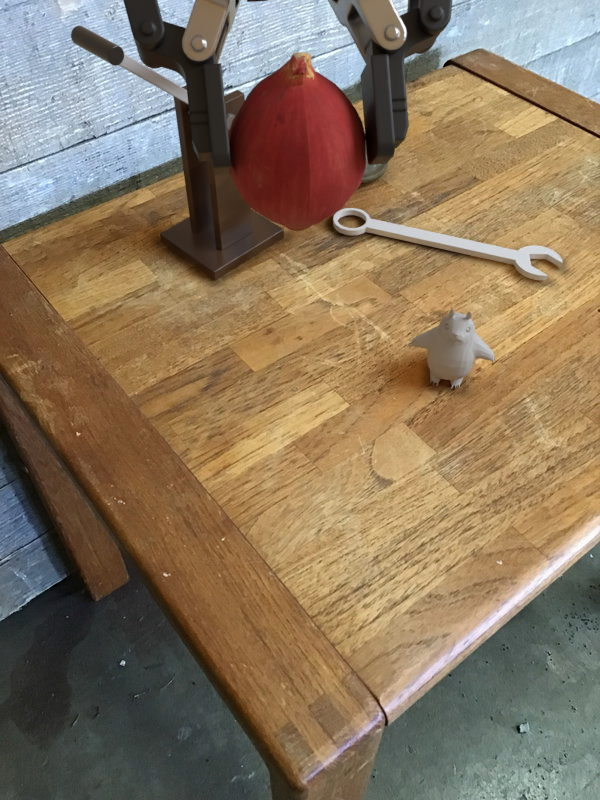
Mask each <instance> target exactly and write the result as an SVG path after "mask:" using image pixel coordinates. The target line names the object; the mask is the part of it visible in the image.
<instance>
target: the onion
mask: <svg viewBox="0 0 600 800" xmlns="http://www.w3.org/2000/svg"><path fill="white" fill-rule="evenodd" d="M228 138H229V148H230V160H231V177H232V180H233V182H234V185H235V186H236V188H237V189H238V191H239V193H240V194H241V196H242V197H243V199H244V200H245V201H246V202H247V204H248V205H249V206H250V207H251V209H252V210H254V211H255V212H257V213H258V214H260V215H262V216H263V217H265V218H266V219H268V220H270V221H271V222H273V223H274V224H277V225H281V226H284V227H285V228H286V229H288V230H290V231H293V232H302V231H305V230H307V229H309V228H311V227H312V226H314V225H319V224H320V223H322V222H324V221H325V220H327V219H329V218H330V217H332V216H334V215H335V214H336V212H338V211H340V210H342V209H344V207H345V205H346V204H347V203H348V201H349V200H350V198H351V197H352V196H353V195H354V193H356V191H357V189H358V188H359V187H360V186H361V184H362V183H361V181H362V178H363V174H364V171H365V168H366V138H365V127H364V123H363V120H362V119H361V117H360V114H359V113H358V111H357V109H356V107H355V106H354V105H353V103H352V102H351V100H350V99H349V97H348V96H347V95H346V94H345V93H344V91H343V90H342V89H341V87H339V86H338V85H337V84H336V83H335V82H333V81H332V80H330V79H329V78H328V77H326V76H325V75H323V74H321V73H320V72H318V71H315V68H314V67H313V65H312V54H311V53H309V52H306V51H305V52H304V51H302V52H300V51H299V52H293V53H292V55H291V57H290V59H288V61H287V62H285V63H284V64H283V65H282V66H280V67H279V68H278V69H277V70H276V71H274V72H272V73H270V74H269V75H267V76H265V77H264V78H263V79H261V80H260V81H258V83H257V84H255V86H253V88H252V89H251V90H250V91H249V93H248V94H247V96H246V97H245V101H244V103H243V105H242V106H241V108H240V110H239V112H238V113H237V115H236V116H235V118H234V119H233V121H232V124H231V127H230V130H229V134H228Z"/></svg>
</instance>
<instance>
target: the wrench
mask: <svg viewBox="0 0 600 800" xmlns="http://www.w3.org/2000/svg"><path fill="white" fill-rule="evenodd" d="M346 216H356V217H359V218H361V219H363V220H364V221H365V223H364V224H363V225H361V226H358V227H346V226H344V225H342V224H341V223H340V222H339V220H340V219H341V218H343V217H346ZM332 225H333V228H334V230H336V231H337V232H338V233H340V234H342V235H345V236H360V235H363V234H365V233H369V234H374V235H377V236H381V237H386V238H391V239H396V240H400V241H404V242H410V243H413V244H418V245H423V246H426V247H427V246H428V247H432V248H436V249H441V250H446V251H450V252H455V253H459V254H464V255H467V256H472V257H476V258H481V259H486V260H490V261H495V262H499V263H504V264H509V265H513V266H514V268H515V270H516V271H517V272H518V273H519V274H520V275H522V276H524V277H525V278H528V279H530V280H535V281H544V282H545V281H547V280H548V276H549V275H548V274H546V273H545V272H543V271H541V270H540V269H538V268H536V267H535V266H533V265H532V262H531V260H546V261H548V262H550V263H552V264H553V265H555V266H557V267H559V268H560V269H562V267H563V264H564V261H563V259H562V256H560V254H559V253H558V252H556V251H555V250H553V249H552V248H549V247H547V246H543V245H539V244H538V245H535V244H534V245H533V244H531V245H526V246H523V247H521V248H519V249H518V250H517V249H512V248H509V247H503V246H499V245H494V244H489V243H485V242H480V241H476V240H471V239H467V238H463V237H459V236H458V237H457V236H453V235H449V234H444V233H439V232H434V231H431V230H426V229H421V228H417V227H412V226H407V225H402V224H399V223H395V222H390V221H384V220H380V219H376V218H371V217H370V214H368V212H366V211H365V210H363V209H360V208H357V207H345V208H342V209H340V210H339V211H337V212H336V213H334V214H333V218H332Z"/></svg>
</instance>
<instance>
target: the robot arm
mask: <svg viewBox="0 0 600 800" xmlns="http://www.w3.org/2000/svg"><path fill="white" fill-rule="evenodd" d="M241 1H242V0H195V1H194V3H193V6H192V9H191V13H190V15H189V18H188V20H187V24H186V27H185V26H180V25H177V24H174V23H171V22H168V21H164V20H163V17H162V12H161V9H160V5H159V2H158V0H123V5H124V8H125V12H126V16H127V19H128V23H129V27H130V30H131V34H132V37H133V41H134V43H135V47H136V51H137V53H138V57H139V59H140V61H141V63H142V64H143V65H145V66H147V67H148V68H150V69H155V70H156V69H160V68H163V69H165V70H170V71H173V72H175V73H177V74H178V75H180V76H181V77H182V79H183V80H184V82H185V85H186V86H187V96H188V105H189V115H190V125H191V135H192V143H193V148H194V151H195V153H196V155H197V157H198V159H199V161H212V162H213V172H214V175H228V174H231V160H230V148H229V138H228V128H227V117H226V107H225V97H224V96H225V88H224V75H223V66H222V63H221V62H220V59H221V56H222V52H223V49H224V47H225V43H226V40H227V39H228V35H229V33H230V32H231V30H232V28H233V25H234V22H235V19H236V16H237V13H238V10H239V7H240V4H241ZM246 2H247V3H253V2H254V3H255V2H268V0H246ZM327 2H328V4H329V6H330V7H331V9H332V12H333V13H334V15H335V17H336V19H337V21H338V22H339V24H340V25H341V26H343V27H345V28H346V29H347V31H348V32H349V34H350V37H351V39H352V40H353V42H354V44H355V47H356V48H357V50H358V52H359V53H360V55H361V57H362V60H363V61H364V64H365V66H364V67H363V70H362V71H361V73H360V86H361V88H360V89H361V99H362V111H363V127H364V132H365V138H366V151H367V160H368V164H369V165H376V164H386V163H387V162H388V163H389V162H390V160H392V158H394V156H395V151H396V149H397V148H399V146H400V145H402V143H403V142H404V141H406V137H407V133H408V130H409V127H410V125H409V123H410V122H409V112H408V96H407V95H408V94H407V85H406V84H407V83H406V70H405V60H406V59H407V58H409V57H411V56H413V55H415V54H418V55H422V54H426V53H428V52H429V51H430V50H431V49H432V47H433V46H434V44H435V43H436V41H437V38H438V37H439V36H440V34H441V33H442V32H443V31H444V30H445V29H446V28H447V27H448V25H449V23H450V22H451V20H452V19H451V18H452V10H453V0H407V11H406V12H404V13H403V14H400V13H399V12H398V10H397V7H396V6H395V3H394V2H393V0H327ZM219 62H220V63H219Z"/></svg>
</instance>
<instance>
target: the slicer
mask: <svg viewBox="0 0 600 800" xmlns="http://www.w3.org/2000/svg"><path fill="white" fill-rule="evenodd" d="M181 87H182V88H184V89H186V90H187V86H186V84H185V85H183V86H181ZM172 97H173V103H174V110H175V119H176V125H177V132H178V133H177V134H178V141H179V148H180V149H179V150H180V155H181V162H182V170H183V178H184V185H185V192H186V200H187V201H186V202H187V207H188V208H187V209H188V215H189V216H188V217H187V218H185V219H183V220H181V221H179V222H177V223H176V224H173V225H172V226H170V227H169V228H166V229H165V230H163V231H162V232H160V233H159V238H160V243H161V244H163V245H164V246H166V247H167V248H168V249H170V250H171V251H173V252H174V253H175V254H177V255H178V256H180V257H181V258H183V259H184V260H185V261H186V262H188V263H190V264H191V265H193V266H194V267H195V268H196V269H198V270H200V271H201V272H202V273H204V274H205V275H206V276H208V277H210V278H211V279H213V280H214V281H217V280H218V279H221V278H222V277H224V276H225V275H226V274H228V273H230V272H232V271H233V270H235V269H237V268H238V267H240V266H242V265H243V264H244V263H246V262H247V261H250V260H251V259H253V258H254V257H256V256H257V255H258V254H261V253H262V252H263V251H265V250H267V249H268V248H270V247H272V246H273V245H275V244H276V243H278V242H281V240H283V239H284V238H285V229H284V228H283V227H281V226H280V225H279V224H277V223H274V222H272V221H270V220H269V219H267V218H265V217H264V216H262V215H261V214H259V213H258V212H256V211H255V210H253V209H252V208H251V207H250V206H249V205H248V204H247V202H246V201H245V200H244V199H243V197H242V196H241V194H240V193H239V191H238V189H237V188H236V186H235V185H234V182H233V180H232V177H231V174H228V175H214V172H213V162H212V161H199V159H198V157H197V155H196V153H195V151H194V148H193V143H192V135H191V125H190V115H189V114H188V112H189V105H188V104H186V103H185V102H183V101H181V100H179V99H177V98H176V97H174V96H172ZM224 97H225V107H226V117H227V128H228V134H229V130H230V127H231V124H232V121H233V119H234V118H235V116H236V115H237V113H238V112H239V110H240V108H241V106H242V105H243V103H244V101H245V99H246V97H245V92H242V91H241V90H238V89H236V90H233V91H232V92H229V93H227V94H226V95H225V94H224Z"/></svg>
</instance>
